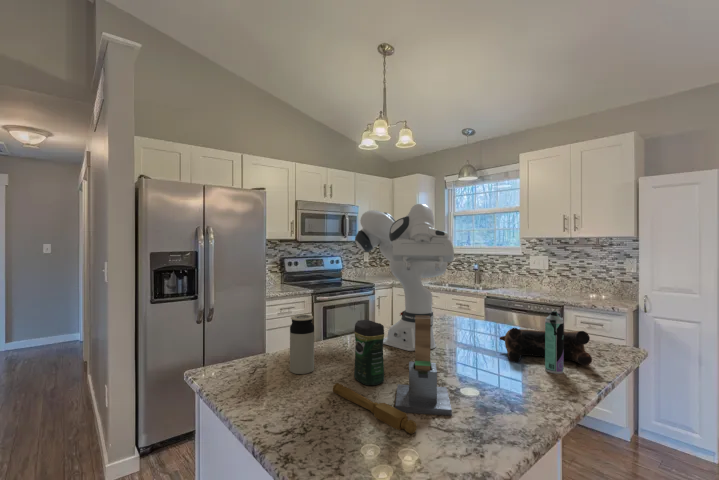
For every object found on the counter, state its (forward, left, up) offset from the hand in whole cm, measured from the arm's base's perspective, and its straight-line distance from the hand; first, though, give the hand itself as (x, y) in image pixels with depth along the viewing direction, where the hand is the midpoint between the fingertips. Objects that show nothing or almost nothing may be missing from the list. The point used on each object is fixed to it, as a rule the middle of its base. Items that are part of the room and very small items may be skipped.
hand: (422, 269), depth 117 cm
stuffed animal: (+28, +47, -35) cm, 65 cm away
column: (+8, -16, -27) cm, 32 cm away
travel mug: (-35, -18, -35) cm, 53 cm away
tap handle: (-1, -29, -35) cm, 45 cm away
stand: (+8, -16, -34) cm, 39 cm away
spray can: (+34, +31, -35) cm, 57 cm away
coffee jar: (-12, -12, -35) cm, 39 cm away
